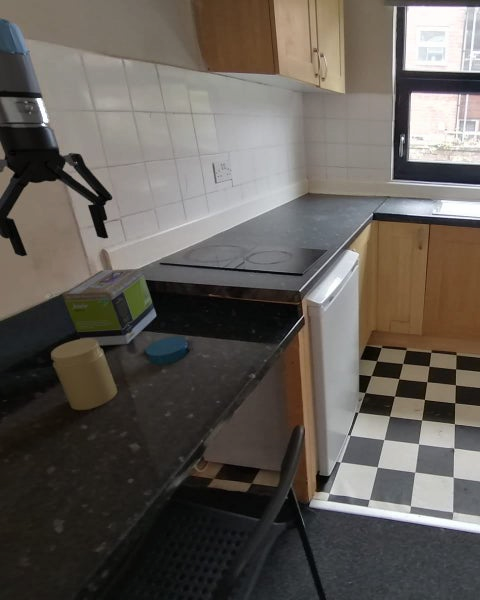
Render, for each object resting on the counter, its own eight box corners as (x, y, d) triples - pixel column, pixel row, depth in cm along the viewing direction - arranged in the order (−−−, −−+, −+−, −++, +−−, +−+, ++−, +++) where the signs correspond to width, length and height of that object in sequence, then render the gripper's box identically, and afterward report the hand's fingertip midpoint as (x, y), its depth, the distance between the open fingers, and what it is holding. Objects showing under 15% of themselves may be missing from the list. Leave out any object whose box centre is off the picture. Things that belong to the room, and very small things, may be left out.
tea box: (119, 322, 105) (101, 268, 99) (159, 320, 106) (144, 267, 100) (83, 352, 91) (60, 292, 85) (129, 350, 92) (109, 290, 86)
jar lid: (192, 343, 95) (190, 334, 94) (184, 361, 88) (182, 352, 87) (154, 348, 93) (152, 339, 92) (143, 367, 86) (140, 357, 85)
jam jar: (62, 413, 72) (39, 361, 68) (80, 389, 79) (60, 340, 74) (109, 406, 74) (89, 355, 70) (123, 383, 81) (106, 335, 76)
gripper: (-72, 127, 57) (-12, 267, 66) (113, 125, 77) (141, 233, 86) (-90, 126, 61) (-30, 259, 69) (92, 124, 80) (121, 228, 89)
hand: (65, 245), depth 78 cm, fingers open, 13 cm apart
